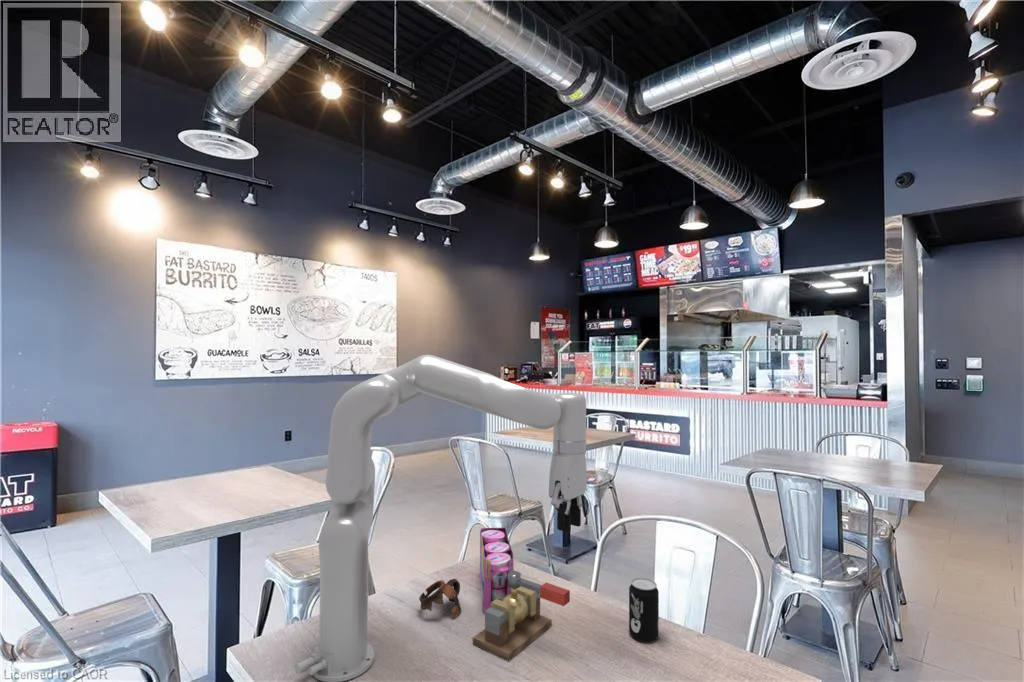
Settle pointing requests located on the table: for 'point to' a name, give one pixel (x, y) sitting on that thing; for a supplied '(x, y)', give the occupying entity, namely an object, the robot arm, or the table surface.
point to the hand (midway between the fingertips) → (569, 527)
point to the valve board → (513, 636)
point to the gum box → (494, 565)
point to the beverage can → (643, 610)
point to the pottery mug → (448, 589)
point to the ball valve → (511, 609)
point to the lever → (540, 589)
